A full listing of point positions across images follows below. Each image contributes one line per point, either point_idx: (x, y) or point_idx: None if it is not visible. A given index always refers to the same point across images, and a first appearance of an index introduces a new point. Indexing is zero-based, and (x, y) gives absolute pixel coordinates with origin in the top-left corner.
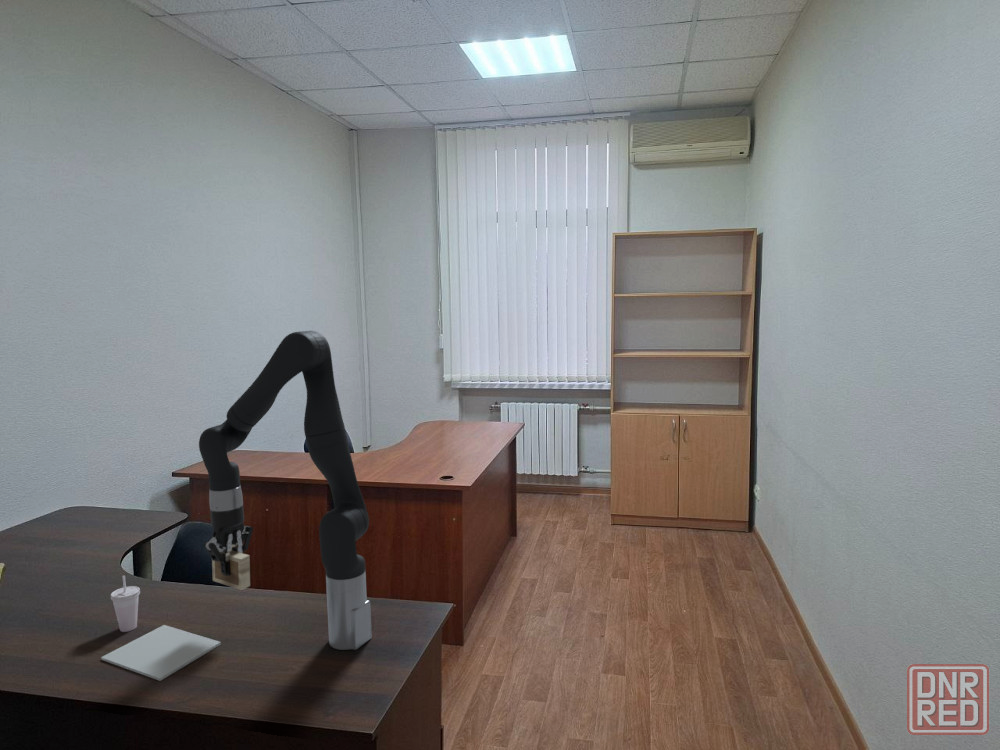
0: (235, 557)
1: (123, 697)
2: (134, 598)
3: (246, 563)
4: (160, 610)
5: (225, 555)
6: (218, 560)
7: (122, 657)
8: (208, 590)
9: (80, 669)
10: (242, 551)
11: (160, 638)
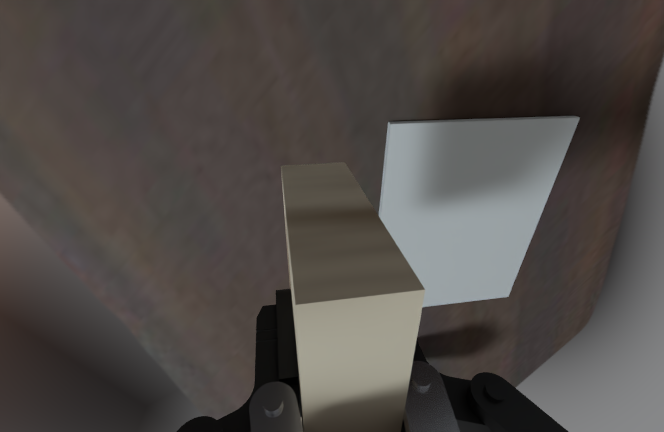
0: (411, 357)
1: (635, 133)
2: None
3: (333, 249)
4: None
5: (455, 423)
6: (514, 393)
7: (504, 266)
8: (194, 373)
9: (537, 291)
10: (234, 421)
11: (421, 271)
